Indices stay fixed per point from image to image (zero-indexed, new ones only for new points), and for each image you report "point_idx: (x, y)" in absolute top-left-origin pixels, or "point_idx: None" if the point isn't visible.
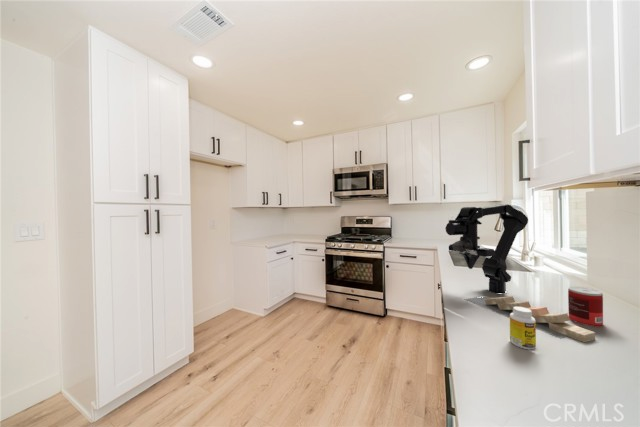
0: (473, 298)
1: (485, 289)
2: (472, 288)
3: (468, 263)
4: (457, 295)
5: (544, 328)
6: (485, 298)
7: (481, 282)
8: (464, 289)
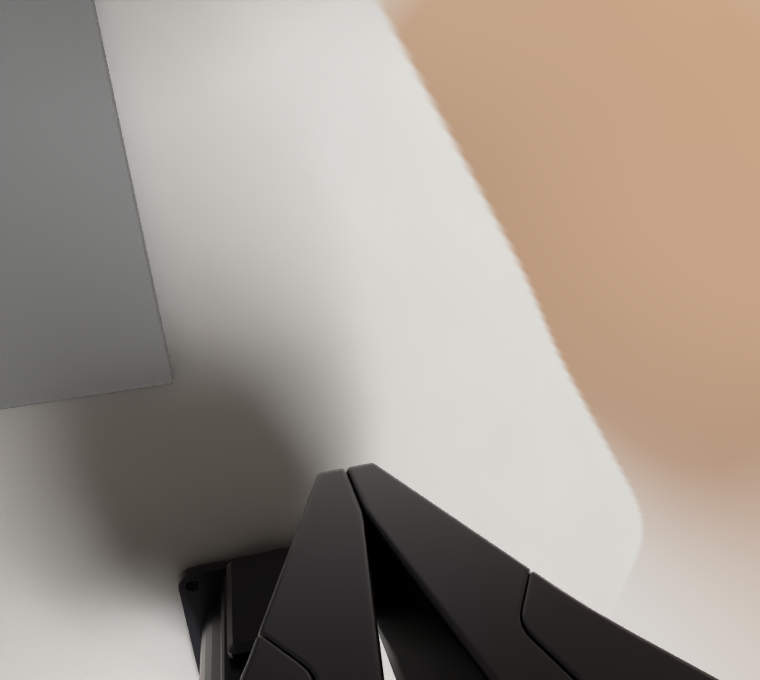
0: (94, 152)
1: None
2: (460, 461)
3: (397, 550)
4: (306, 61)
5: None
6: (68, 319)
7: None
8: (466, 349)
